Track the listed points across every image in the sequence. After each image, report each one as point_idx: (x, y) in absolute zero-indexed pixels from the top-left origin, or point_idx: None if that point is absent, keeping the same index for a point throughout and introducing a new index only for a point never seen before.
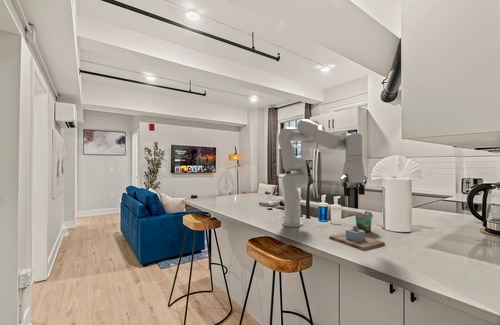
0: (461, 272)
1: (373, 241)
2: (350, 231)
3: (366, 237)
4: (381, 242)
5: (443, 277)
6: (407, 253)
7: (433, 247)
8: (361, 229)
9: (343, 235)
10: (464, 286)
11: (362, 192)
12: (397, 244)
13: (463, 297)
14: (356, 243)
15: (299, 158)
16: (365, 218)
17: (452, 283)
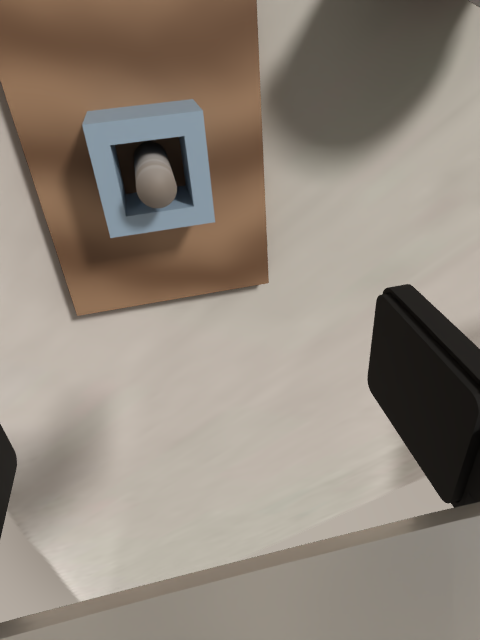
0: (242, 515)
1: (221, 250)
2: (96, 179)
3: (253, 161)
4: (249, 279)
5: (159, 531)
6: (251, 386)
7: None
8: None
9: (115, 27)
10: (157, 563)
11: (389, 397)
12: (333, 287)
13: (98, 591)
14: (83, 247)
15: None
16: (474, 2)
17: (145, 552)
